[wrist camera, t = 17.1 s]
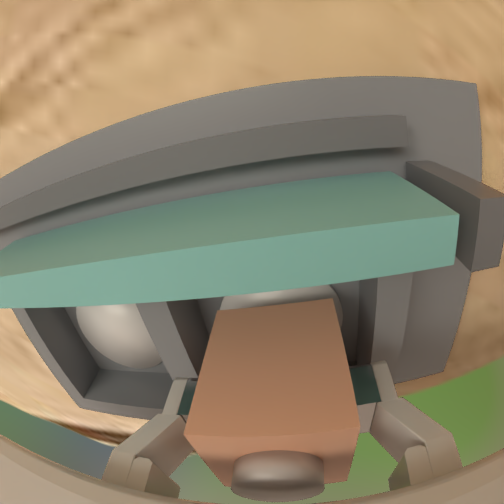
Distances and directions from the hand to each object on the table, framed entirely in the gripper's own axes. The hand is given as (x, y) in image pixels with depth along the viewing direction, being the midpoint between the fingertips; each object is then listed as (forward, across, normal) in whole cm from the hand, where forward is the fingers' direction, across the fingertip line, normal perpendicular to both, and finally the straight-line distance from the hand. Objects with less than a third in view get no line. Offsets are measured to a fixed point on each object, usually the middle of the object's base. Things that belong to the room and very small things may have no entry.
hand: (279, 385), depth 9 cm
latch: (+3, +4, -5) cm, 7 cm away
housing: (+5, +4, -2) cm, 6 cm away
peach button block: (+2, 0, 0) cm, 2 cm away
